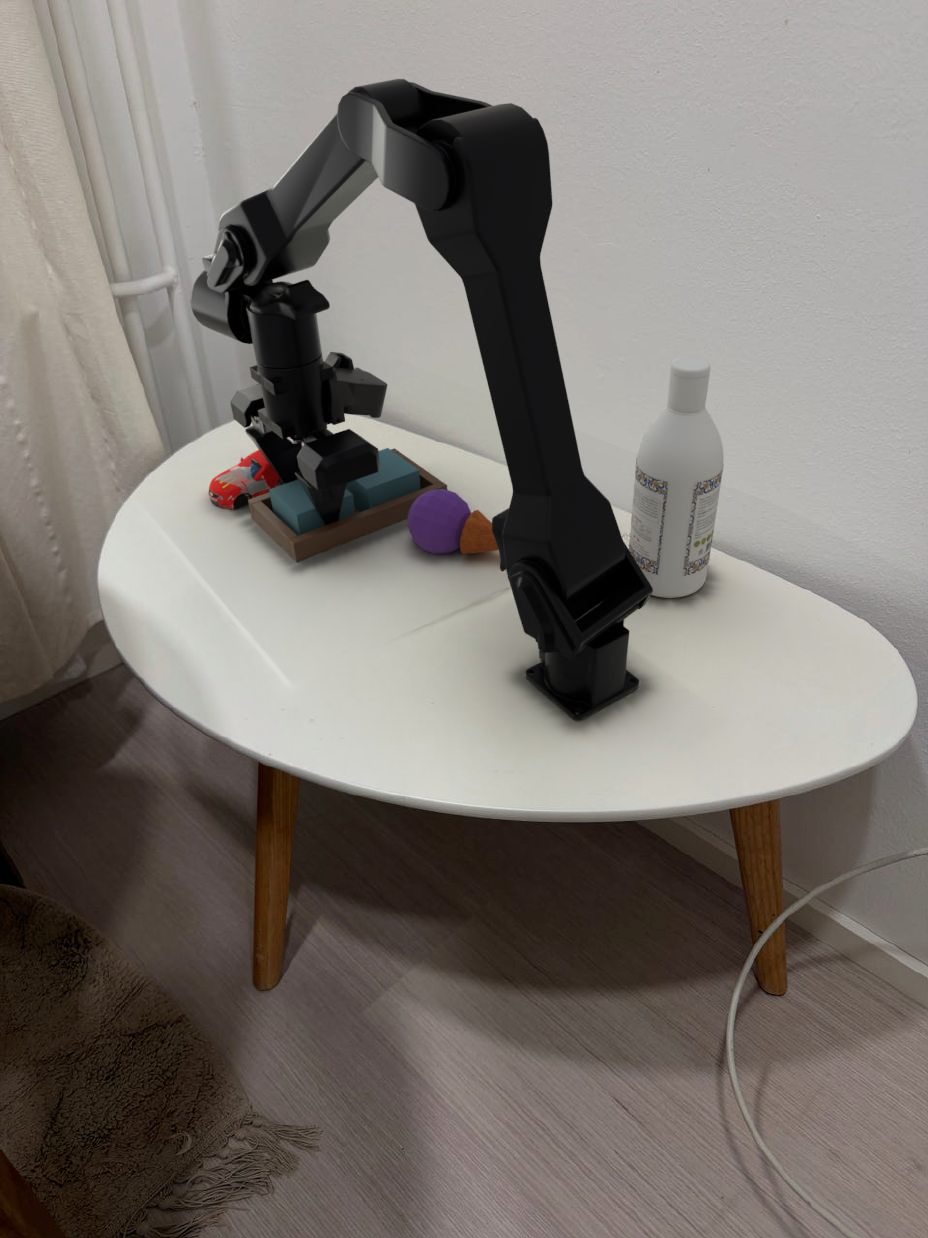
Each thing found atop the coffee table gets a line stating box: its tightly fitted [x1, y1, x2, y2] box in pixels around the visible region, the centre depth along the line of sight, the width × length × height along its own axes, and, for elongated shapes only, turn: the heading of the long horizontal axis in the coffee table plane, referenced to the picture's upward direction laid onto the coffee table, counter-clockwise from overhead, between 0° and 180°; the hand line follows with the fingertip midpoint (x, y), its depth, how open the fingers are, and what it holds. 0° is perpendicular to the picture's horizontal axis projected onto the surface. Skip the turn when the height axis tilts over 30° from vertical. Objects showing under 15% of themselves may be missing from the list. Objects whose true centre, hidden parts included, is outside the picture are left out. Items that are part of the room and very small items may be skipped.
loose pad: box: [269, 480, 355, 536], centre depth 89 cm, size 6×6×4 cm
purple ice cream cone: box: [406, 489, 499, 555], centre depth 83 cm, size 6×6×20 cm
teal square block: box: [346, 447, 420, 512], centre depth 93 cm, size 6×6×4 cm
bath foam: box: [628, 355, 725, 599], centre depth 76 cm, size 7×7×20 cm
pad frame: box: [248, 448, 448, 563], centre depth 92 cm, size 10×17×3 cm, turn 125°
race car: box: [208, 442, 304, 510], centre depth 96 cm, size 13×5×4 cm, turn 125°
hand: (314, 510), depth 90 cm, fingers open, 7 cm apart
